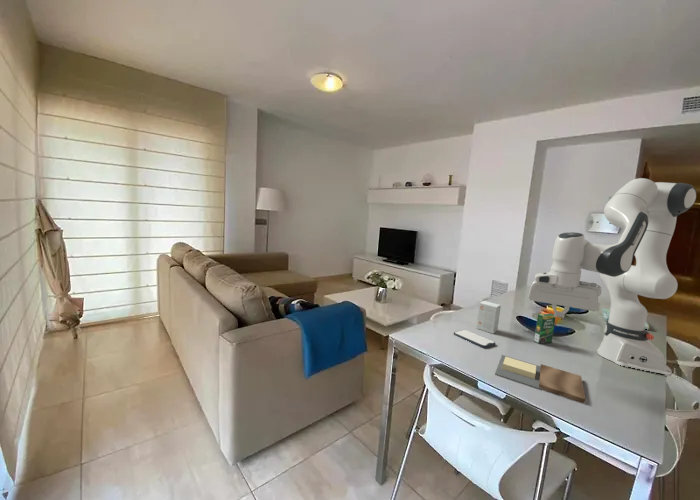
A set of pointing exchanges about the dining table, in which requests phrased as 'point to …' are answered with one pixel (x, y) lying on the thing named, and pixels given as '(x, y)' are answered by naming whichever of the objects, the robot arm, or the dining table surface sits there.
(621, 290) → the robot arm
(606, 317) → the towel
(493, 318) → the small box
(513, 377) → the mat
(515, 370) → the tile
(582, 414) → the dining table surface
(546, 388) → the brown flat block
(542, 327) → the coffee box
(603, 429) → the dining table surface
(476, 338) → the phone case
